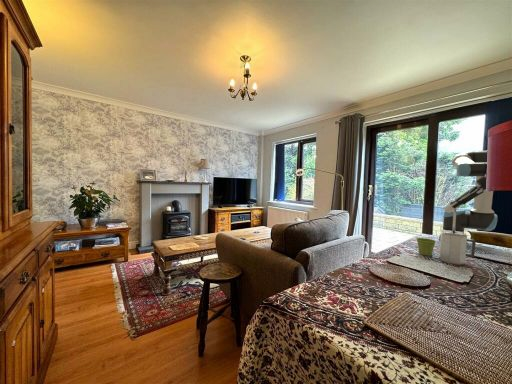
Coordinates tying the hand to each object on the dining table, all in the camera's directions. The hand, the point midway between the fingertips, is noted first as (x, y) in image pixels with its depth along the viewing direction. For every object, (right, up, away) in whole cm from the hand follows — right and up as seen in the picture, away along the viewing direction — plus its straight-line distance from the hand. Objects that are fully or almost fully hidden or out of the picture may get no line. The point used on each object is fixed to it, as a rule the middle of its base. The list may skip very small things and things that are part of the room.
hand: (445, 210), depth 119 cm
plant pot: (-3, -27, +10) cm, 29 cm away
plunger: (+3, -15, -1) cm, 15 cm away
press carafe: (+4, -28, -1) cm, 28 cm away
